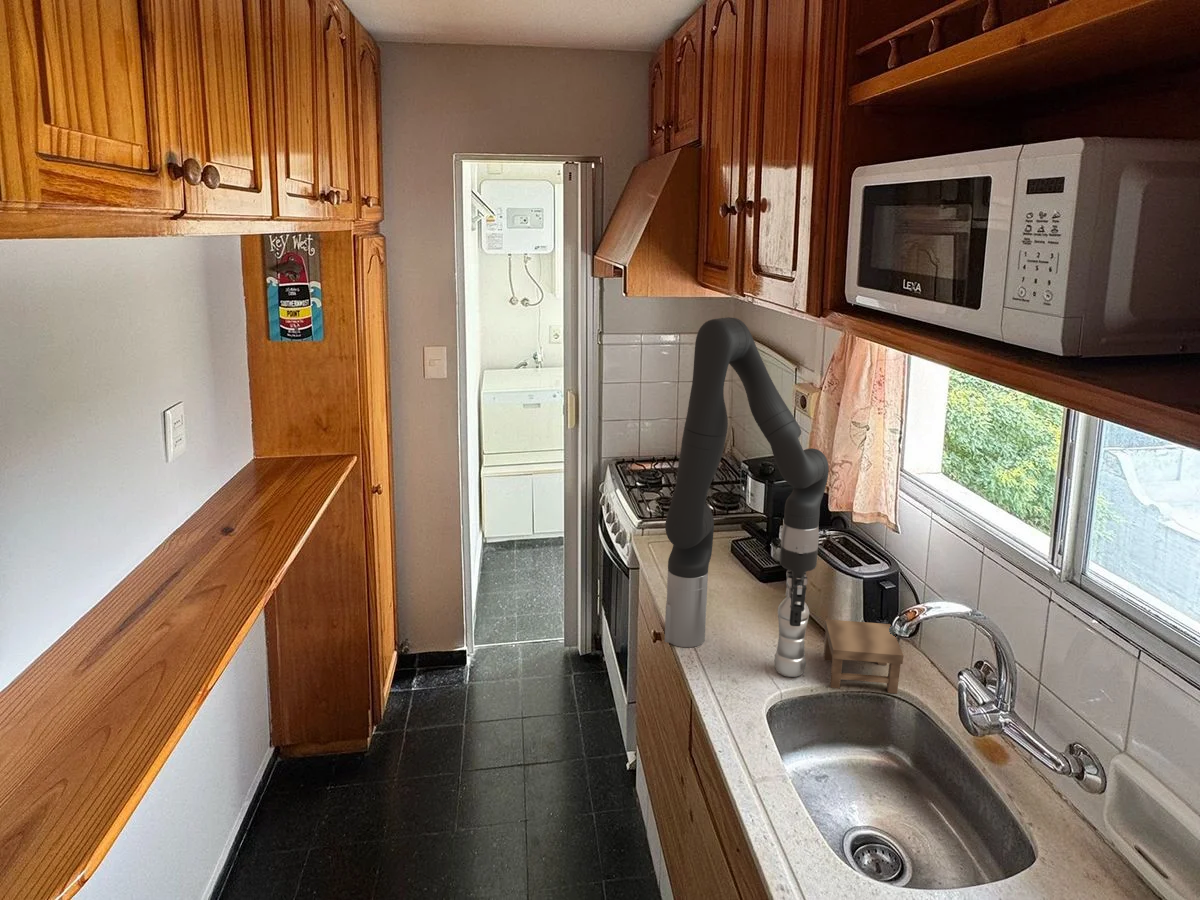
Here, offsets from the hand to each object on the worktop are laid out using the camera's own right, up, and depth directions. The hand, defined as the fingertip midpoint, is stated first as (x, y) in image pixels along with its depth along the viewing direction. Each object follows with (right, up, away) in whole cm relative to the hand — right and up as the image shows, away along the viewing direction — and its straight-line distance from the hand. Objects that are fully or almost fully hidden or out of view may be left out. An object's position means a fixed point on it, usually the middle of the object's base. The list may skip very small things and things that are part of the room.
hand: (793, 617), depth 176 cm
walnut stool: (+15, -13, +3) cm, 20 cm away
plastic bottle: (0, -13, +3) cm, 13 cm away
